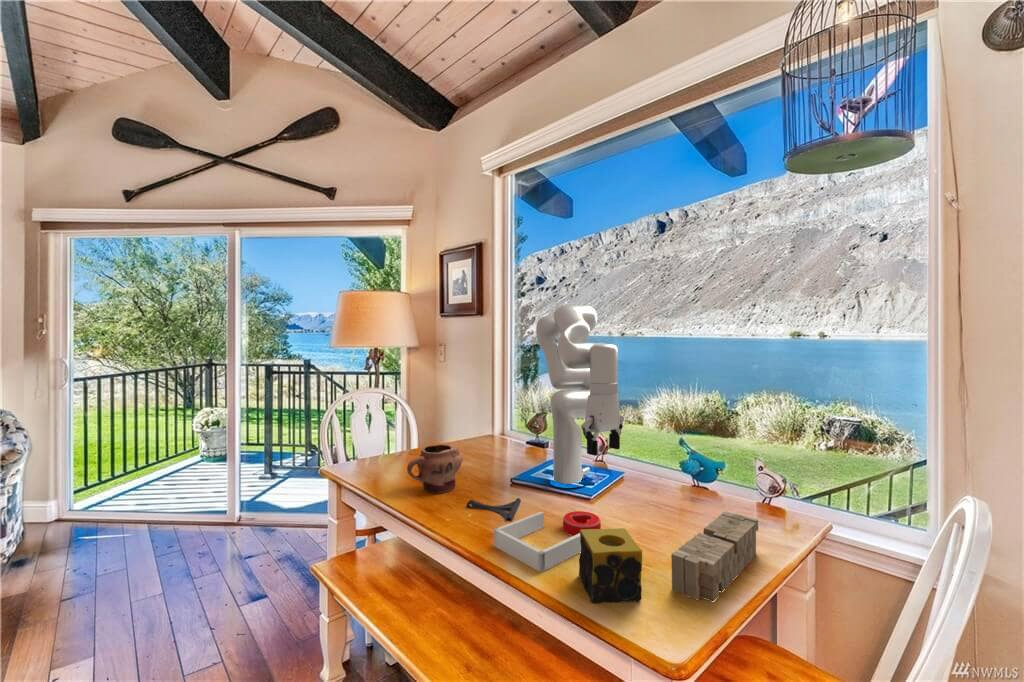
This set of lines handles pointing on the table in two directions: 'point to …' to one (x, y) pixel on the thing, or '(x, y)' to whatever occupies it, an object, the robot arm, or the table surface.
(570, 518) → the decorative ornament
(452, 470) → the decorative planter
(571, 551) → the rail
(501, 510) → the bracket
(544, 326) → the robot arm
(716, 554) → the block tower
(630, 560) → the olive cube with hole
